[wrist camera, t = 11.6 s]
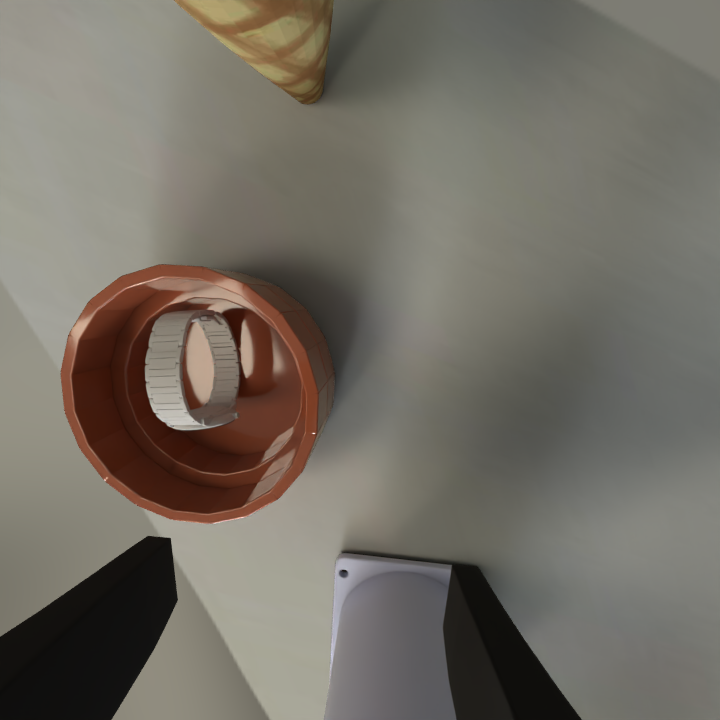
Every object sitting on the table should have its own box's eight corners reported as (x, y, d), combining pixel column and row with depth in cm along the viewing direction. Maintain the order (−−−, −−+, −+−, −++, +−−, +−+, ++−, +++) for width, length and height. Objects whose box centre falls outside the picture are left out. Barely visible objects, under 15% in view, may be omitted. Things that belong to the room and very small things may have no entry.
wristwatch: (207, 406, 18) (139, 447, 13) (194, 310, 17) (115, 315, 12) (261, 404, 18) (211, 446, 13) (250, 306, 17) (192, 310, 12)
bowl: (331, 479, 19) (313, 536, 14) (146, 461, 19) (74, 509, 15) (340, 279, 17) (323, 272, 12) (134, 268, 17) (47, 258, 13)
